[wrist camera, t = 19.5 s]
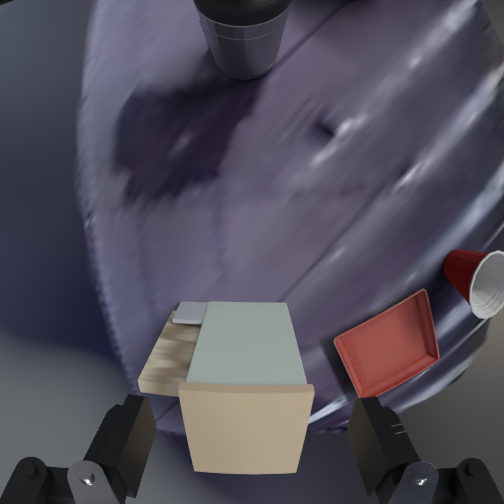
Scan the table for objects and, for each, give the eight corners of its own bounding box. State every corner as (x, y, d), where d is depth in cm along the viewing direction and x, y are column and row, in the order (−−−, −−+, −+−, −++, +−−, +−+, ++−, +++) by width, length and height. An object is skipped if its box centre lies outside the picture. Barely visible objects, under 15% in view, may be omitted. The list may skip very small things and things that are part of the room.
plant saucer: (327, 330, 48) (332, 340, 44) (417, 280, 46) (426, 287, 42) (357, 393, 52) (361, 404, 49) (432, 351, 50) (440, 359, 47)
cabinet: (188, 373, 50) (163, 466, 29) (180, 297, 45) (137, 384, 25) (282, 376, 50) (295, 472, 29) (289, 300, 46) (314, 392, 25)
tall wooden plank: (174, 326, 47) (142, 399, 30) (172, 310, 46) (137, 380, 29) (210, 328, 47) (192, 405, 30) (209, 312, 46) (189, 386, 29)
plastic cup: (469, 225, 43) (513, 241, 31) (475, 276, 45) (514, 299, 34) (427, 247, 44) (469, 270, 32) (435, 300, 46) (471, 330, 35)
